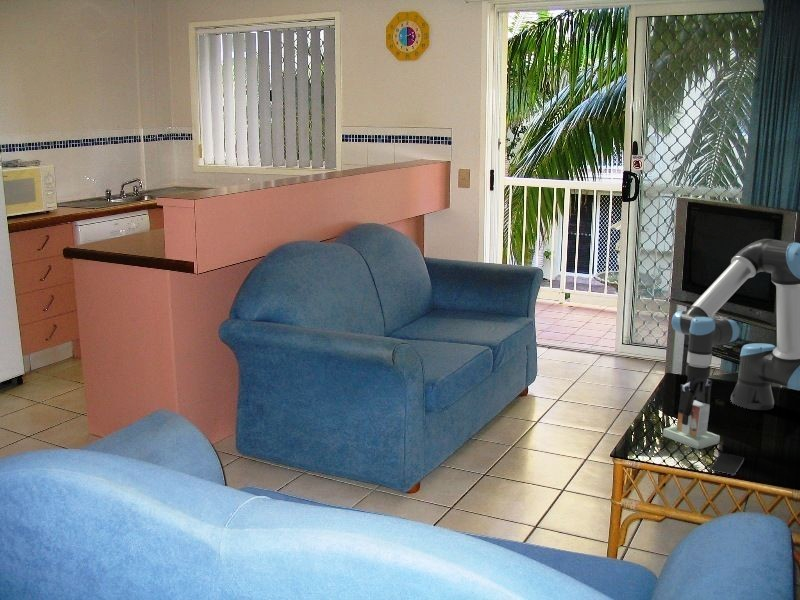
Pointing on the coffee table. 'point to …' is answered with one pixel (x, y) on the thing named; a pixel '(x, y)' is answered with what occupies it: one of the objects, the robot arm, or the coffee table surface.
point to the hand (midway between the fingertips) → (691, 431)
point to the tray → (691, 438)
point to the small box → (697, 419)
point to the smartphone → (727, 463)
